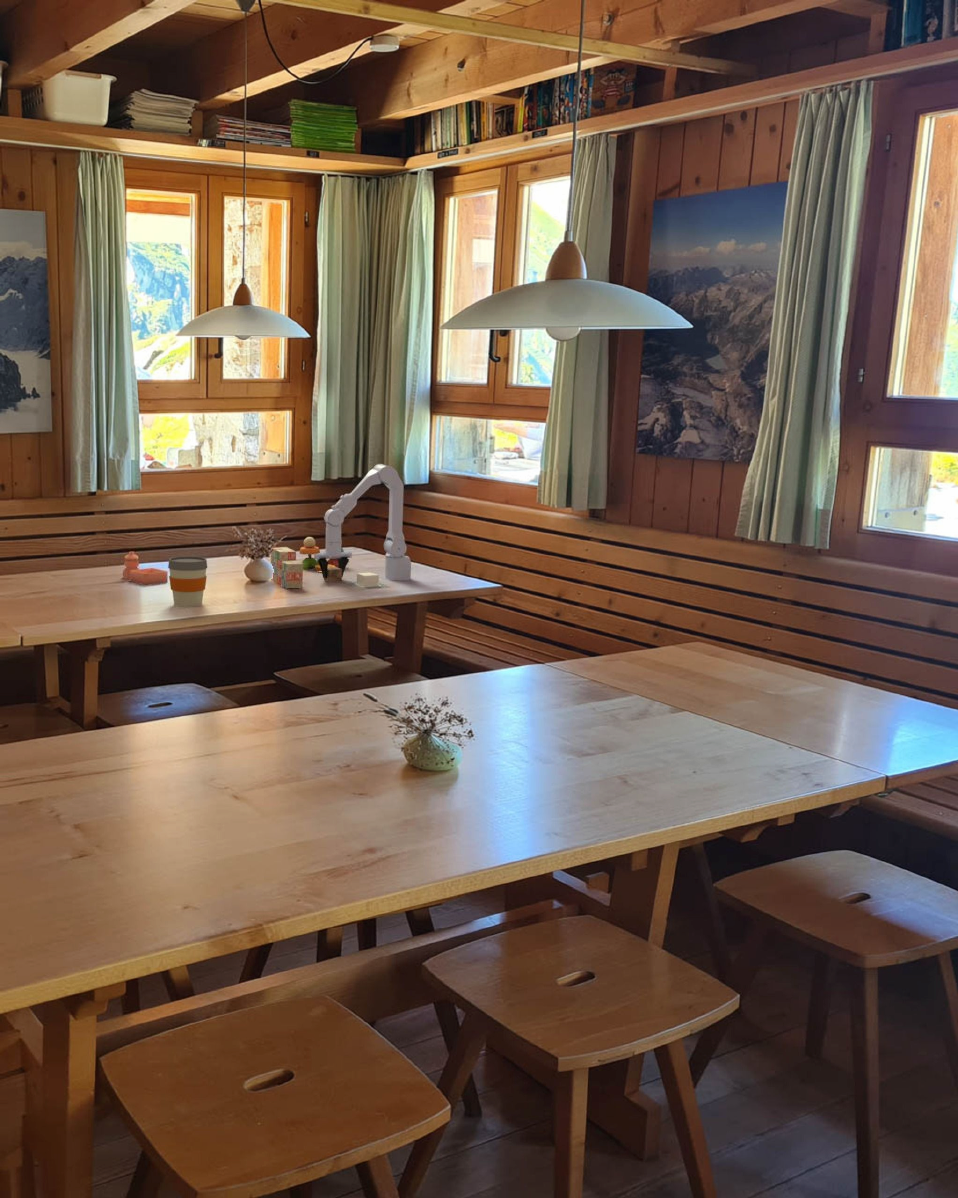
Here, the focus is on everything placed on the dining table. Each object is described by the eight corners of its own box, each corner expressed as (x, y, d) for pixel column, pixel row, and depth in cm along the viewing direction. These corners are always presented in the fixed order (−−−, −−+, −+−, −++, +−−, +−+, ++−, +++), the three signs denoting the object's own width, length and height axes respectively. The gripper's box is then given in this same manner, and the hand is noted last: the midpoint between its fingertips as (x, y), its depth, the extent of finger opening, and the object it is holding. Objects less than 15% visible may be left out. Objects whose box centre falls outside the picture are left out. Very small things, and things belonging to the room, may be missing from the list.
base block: (371, 583, 440) (371, 572, 440) (378, 585, 436) (378, 575, 435) (356, 583, 437) (356, 573, 437) (364, 586, 432) (364, 575, 432)
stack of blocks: (303, 588, 426) (303, 555, 424) (286, 589, 424) (286, 555, 421) (286, 578, 445) (286, 546, 443) (270, 579, 443) (270, 546, 440)
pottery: (167, 582, 428) (167, 555, 427) (145, 585, 421) (145, 558, 419) (137, 575, 439) (137, 549, 438) (115, 578, 432) (115, 551, 430)
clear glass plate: (373, 581, 445) (373, 580, 445) (390, 588, 434) (390, 586, 434) (344, 583, 439) (344, 582, 439) (361, 590, 428) (361, 589, 427)
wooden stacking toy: (319, 574, 458) (319, 542, 456) (295, 567, 471) (295, 536, 468) (357, 570, 470) (358, 539, 467) (333, 564, 482) (333, 533, 480)
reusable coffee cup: (212, 606, 389) (212, 561, 386) (174, 608, 383) (174, 563, 380) (201, 599, 400) (200, 555, 397) (164, 601, 394) (163, 557, 391)
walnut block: (335, 580, 446) (336, 567, 445) (341, 582, 442) (341, 569, 441) (323, 580, 444) (323, 567, 443) (329, 583, 440) (329, 569, 439)
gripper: (346, 539, 447) (345, 574, 450) (311, 540, 440) (310, 576, 442) (354, 541, 441) (353, 577, 444) (318, 543, 434) (318, 580, 436)
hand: (332, 577), depth 443 cm, fingers open, 6 cm apart
